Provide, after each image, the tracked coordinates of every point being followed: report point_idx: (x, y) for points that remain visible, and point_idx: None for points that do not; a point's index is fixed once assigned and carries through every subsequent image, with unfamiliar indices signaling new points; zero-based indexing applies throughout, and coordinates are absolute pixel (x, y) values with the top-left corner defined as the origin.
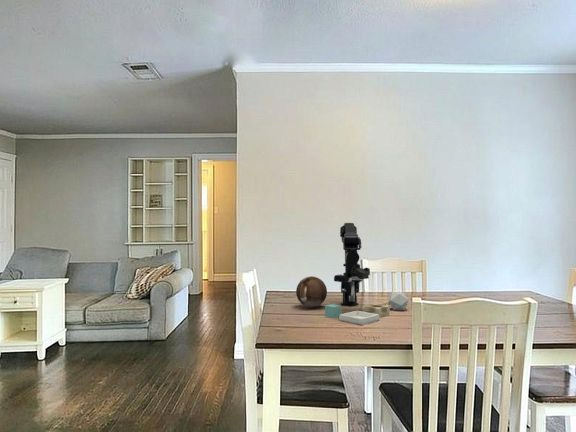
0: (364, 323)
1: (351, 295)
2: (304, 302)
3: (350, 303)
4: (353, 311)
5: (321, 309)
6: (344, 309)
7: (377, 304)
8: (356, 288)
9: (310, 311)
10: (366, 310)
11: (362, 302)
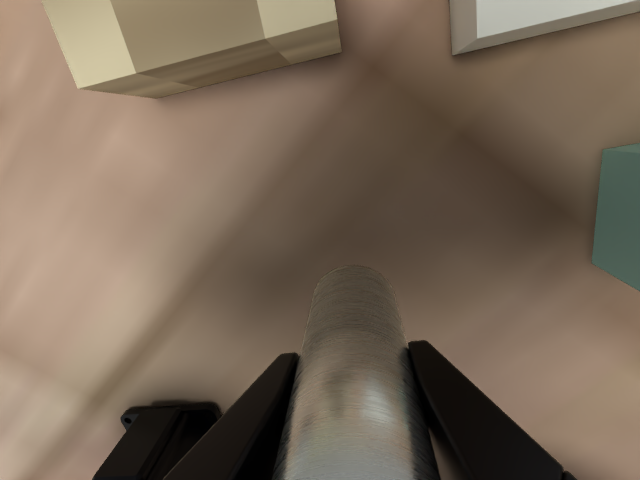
0: None
1: (395, 337)
2: None
3: (193, 429)
4: (579, 2)
5: None
6: None
7: (66, 8)
8: (192, 468)
9: (611, 448)
10: None
11: (65, 433)
